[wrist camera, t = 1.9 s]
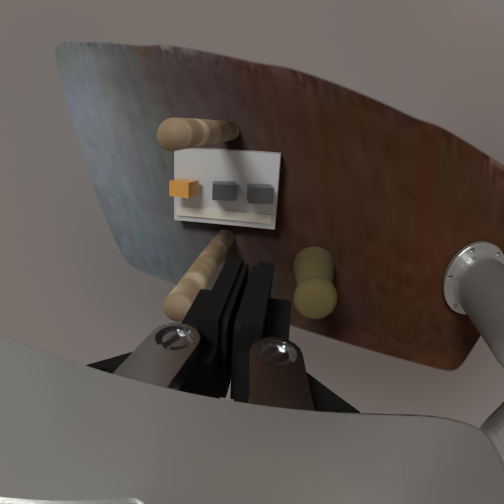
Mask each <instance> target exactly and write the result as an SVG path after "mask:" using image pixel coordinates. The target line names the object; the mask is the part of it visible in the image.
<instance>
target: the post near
mask: <svg viewBox="0 0 504 504" xmlns="http://www.w3.org/2000/svg"><path fill="white" fill-rule="evenodd" d="M238 135H239V127H238V125H237V124H236V123H234V122H230V121H218V120H205V119H190V118H169V119H166V120H165V121H163V122H162V123H161V124H160V126H159V128H158V131H157V140H158V142H159V144H160V146H161V147H162V148H163V149H165V150H167V151H178V150H183V149H188V148H193V147H198V146H203V145H208V144H214V143H219V142H225V141H231V140H234V139H236V138H237V137H238Z"/></svg>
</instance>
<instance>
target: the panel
mask: <svg viewBox="0 0 504 504" xmlns="http://www.w3.org/2000/svg"><path fill="white" fill-rule="evenodd" d="M280 165H281V153H277V152H264V151H250V150H233V149H212V148H188V149H183V150H178V151H175V154H174V180H175V179H179V178H183V179H193V180H199V195H197V196H194V197H191V198H189V199H188V198H181V197H174V220H180V221H191V222H202V223H213V224H224V225H234V226H244V227H254V228H264V229H274V230H275V226H276V216H277V204H278V191H279V178H280ZM213 181H235V182H236V183H237V201H223V200H212V187H213ZM247 183H248V184H271V185H272V186H273V187H274V197H273V204H255V203H248V201H247V199H246V198H247Z"/></svg>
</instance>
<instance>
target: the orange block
mask: <svg viewBox="0 0 504 504" xmlns="http://www.w3.org/2000/svg"><path fill="white" fill-rule="evenodd" d="M197 195H199V180H193V179H183V178H179V179H175V180H171V181H169V196H174V197H181V198H188V199H189V198H191V197H194V196H197Z"/></svg>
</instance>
